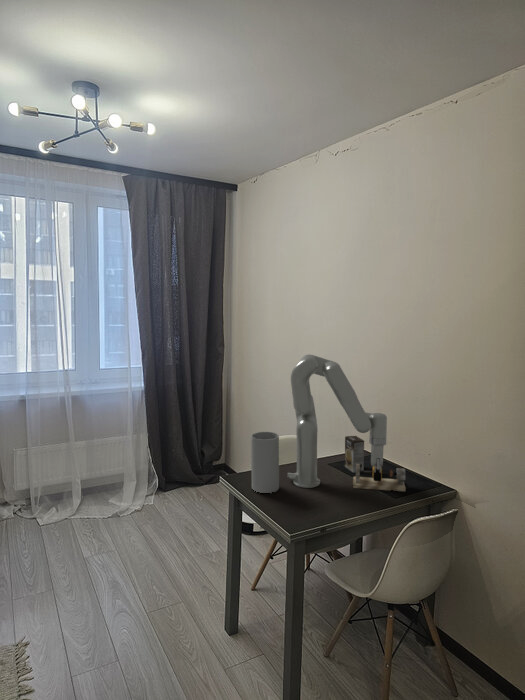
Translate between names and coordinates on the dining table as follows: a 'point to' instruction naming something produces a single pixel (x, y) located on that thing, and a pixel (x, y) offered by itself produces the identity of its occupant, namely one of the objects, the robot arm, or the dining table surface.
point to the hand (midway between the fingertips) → (377, 478)
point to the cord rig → (380, 485)
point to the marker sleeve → (374, 471)
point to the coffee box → (354, 453)
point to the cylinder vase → (265, 462)
